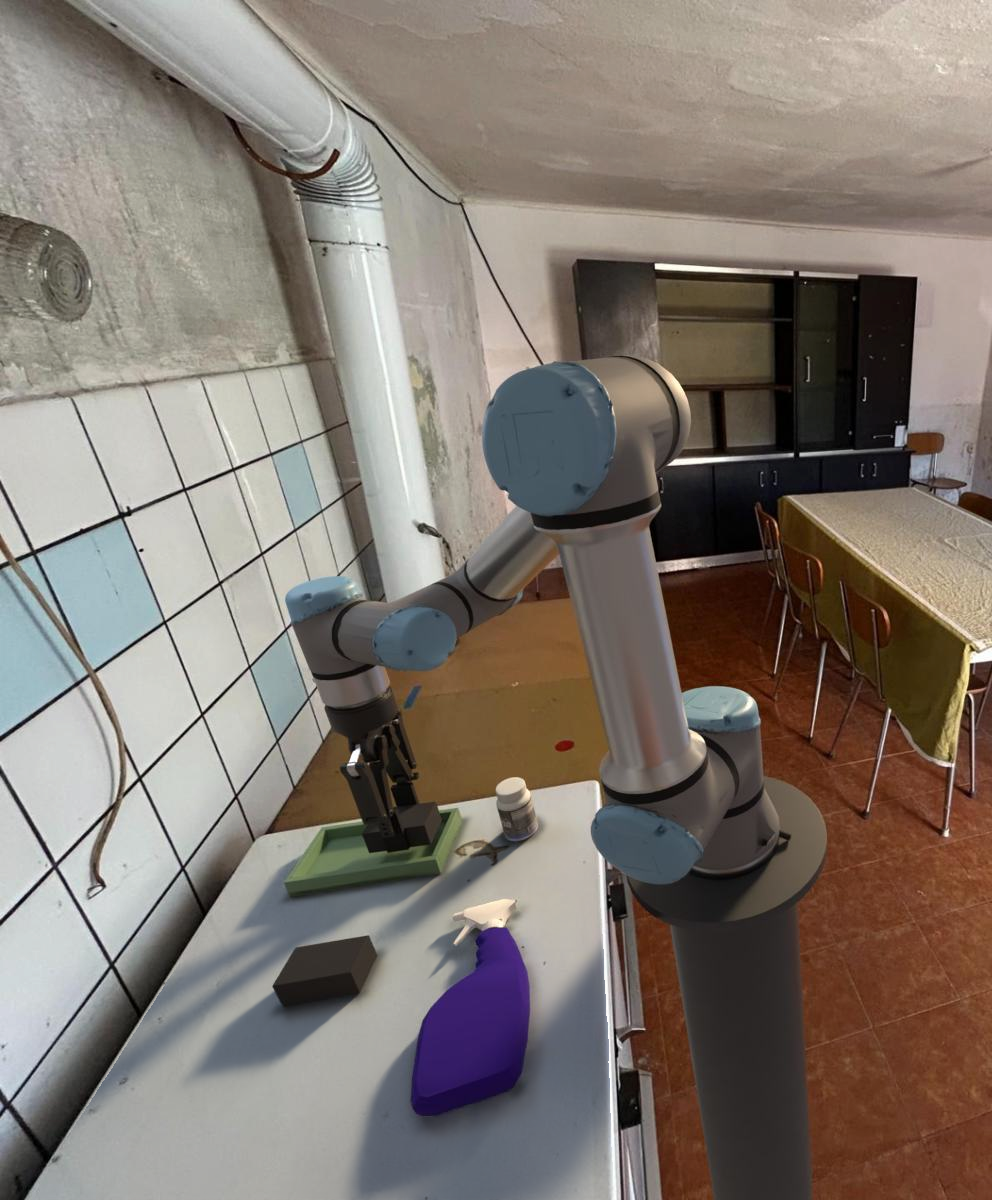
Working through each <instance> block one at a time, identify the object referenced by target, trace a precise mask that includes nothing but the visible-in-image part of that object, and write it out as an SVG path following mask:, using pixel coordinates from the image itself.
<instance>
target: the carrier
mask: <svg viewBox="0 0 992 1200" xmlns="http://www.w3.org/2000/svg"><path fill="white" fill-rule="evenodd" d="M439 813H440V816H441V819H442V821H441V823H440V825H439V827H438V830H437V832H436V834H435V836H434V838H433V841H432V843H431V845H424V846H417V847H410V848H409V850H403V851H397V852H390V853H387V851H382V852H375V853H369V851H368V849H367V846H366V843H365V841H364V838H363V836H362V833H363V831H364V830H365V828H366V826H367V825H368V824H367V825H364V824H363V822H362V821H358V822H357V821H355V822H349V823H341V824H334V825H327V826H322V827H321V828H320V829H319V830H318V832H317V834H316V835H315V836H314V838H313V839H312V841H311V842H310V843H309V845H308V847H307V848H306V849H305V851H304V852H303V854H302V855H301V856H300V858H299V859H298V861H297V862H296V864H295V865H294V867H293V868H292V870H291V871H290V872H289V874H288V875H287V877H286V878H285V880H284V881H283V885H284V887H285V889H286V891H287V893H288V895H289V897H290V898H293V897H299V896H305V895H312V894H318V893H319V894H320V893H324V892H331V891H338V890H344V889H350V888H357V887H361V886H362V887H363V886H370V885H375V884H376V885H377V884H382V883H388V882H394V881H401V880H407V879H408V880H409V879H415V878H420V877H421V878H422V877H427V876H433V875H439V874H441V873H442V871H443V869H444V867H445V864H446V862H447V859H448V856H449V854H450V852H451V850H452V847H453V845H454V842H455V840H456V838H457V835H458V833H459V831H460V828H461V826H462V823H463V818H462V814H461V811H460V808H459V807H453V808H446V809H439Z"/></svg>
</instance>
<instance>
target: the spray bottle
mask: <svg viewBox="0 0 992 1200" xmlns="http://www.w3.org/2000/svg"><path fill="white" fill-rule="evenodd" d="M517 909H518V906H517V902H516V900H515V899H507V898H502V899H499V900H494V901H491V902H486V903H483V904H479V905H474V906H471V907H468V908H465V909H464V910H462V911H459V912H454V913H453V915H452V920H453V922H455V923H456V922H459V921H465V925H464V927H463V928H462V930H461V931H460V933H459V934H458V936H457V937H456V939H455V941H454V942H453V946H454V947H457V946H458V945H459V944H460V943H461V942H462V941H463V940H464V939H465V938H466V937H467V936H468V935H469V934H470V933H471V931H473V929H475V928H476V929H478V930H479V931H480V932H479V934H477V936H476V938H475V939H474V944H475V946H476V947H477V950H476V951H475V958H476V962H475V963H474V966H475V969H474V971H472V972H471V973H469V974H467V975H466V976H464V977H463V978H461V979H460V980H459V981H457V982H456V983H455V984H453V985H452V986H450V987H449V988H447V989H446V990H445V991H444V992H443V994H442V995H441V996H440V997H439V998H438V999H437V1000H436V1001H435V1002H434V1003H433V1004H432V1006H430V1008H429V1009H428V1011H427V1013H426V1014H425V1016H424V1017H423V1019H422V1021H421V1025H420V1028H419V1032H418V1035H417V1042H416V1048H415V1054H414V1061H413V1065H412V1066H413V1067H412V1072H411V1073H412V1074H411V1083H410V1084H411V1085H410V1105H411V1107H412V1111H414V1113H415V1114H416V1115H418V1116H421V1117H428V1118H429V1117H438V1116H442V1115H444V1114H446V1113H450V1112H452V1111H456V1110H458V1109H461V1108H464V1107H467V1106H470V1105H473V1104H477V1103H478V1102H482V1101H484V1100H488V1099H490V1098H493V1097H496V1096H499V1095H502V1094H505V1093H508V1092H509V1091H510V1090H511V1089H513V1088H514V1087H515V1086H516V1084H517V1082H518V1081H519V1079H520V1077H521V1075H522V1073H523V1068H524V1062H525V1058H526V1057H525V1056H526V1052H527V1046H528V1040H529V1029H530V1016H531V991H530V988H531V987H530V979H529V972H528V970H527V967H526V965H525V962H524V959H523V957H522V955H521V951H520V949H519V947H518V945H517V943H516V940H515V939H514V937H513V935H512V934H511V932H510V930H509V929H508V927H505V926H506V923H507V920H508V919H509V918H510V917H511V915H512V913H514V912H515V911H516V910H517Z"/></svg>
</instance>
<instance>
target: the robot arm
mask: <svg viewBox="0 0 992 1200" xmlns="http://www.w3.org/2000/svg"><path fill="white" fill-rule="evenodd" d="M686 395H687V394H686V393H685V391H684V388H682V385H681V384H680V382H679V381H678V380H677V378H675V376H674V375H673V374H672V373H671V372H669V371H668V370H667V369H666V368H664V367H663V366H662V365H661V364H659V363H657V362H655V361H653V360H651V359H649V358H646V357H643V356H639V355H632V354H630V355H629V354H622V355H613V356H608V357H602V358H601V357H599V358H592V359H591V358H590V359H589V358H588V359H580V360H569V361H568V360H567V361H557V360H554V361H552V362H549V363H546V364H540V365H538V366H534V367H530V368H525V369H523V370H521V371H517V372H516V373H514V374H512V375H511V376H509V377H507V378H506V379H505V380H504V381H503V382H502V383H500V385H499V386H498V387H497V388H496V390H495V392H494V394H493V396H492V398H491V400H490V401H489V402H488V403H487V406H486V409H485V412H484V414H483V419H482V427H481V444H482V445H481V446H482V453H483V457H484V460H485V464H486V466H487V470H488V472H489V474H490V476H491V479H492V481H493V482H494V484H495V485H496V486H497V488H498V490H500V491H505V492H506V493H507V494H508V495H507V499H508V500H509V501H510V502H512V503H513V504H514V505H515V506H514V508H512V510H511V511H510V512H509V513H508V514H507V515H506V516H505V517H504V518H503V520H502V521H501V522H500V523H498V525H497V526H496V528H495V529H494V530H493V531H491V533H490V534H489V535H488V536H487V537H486V538H485V540H483V542H481V544H480V545H478V547H477V548H476V549H475V551H474V552H473V553H472V554H471V555H470V556H469V558H467V560H466V561H465V562H463V564H462V565H461V566H460V567H459V568H458V569H457V570H456V571H455V572H453V573H452V574H449V575H448V576H446V577H444V578H442V579H440V580H437V581H435V582H433V583H431V584H429V585H427V586H424V587H422V588H421V589H417V590H416V591H414V592H412V593H409V594H407V595H404V596H403V597H401V598H399V599H396V600H393V601H390V602H385V601H376V600H370V599H364V593H363V591H361V589H360V587H359V584H358V582H357V581H356V580H354V579H353V578H352V577H350V576H345V575H332V576H325V577H319V578H315V579H311V580H308V581H305V582H302V583H299V584H297V585H295V586H293V587H292V588H291V589H290V590H288V591H287V593H286V595H285V598H284V603H285V605H286V608H287V611H288V616H289V618H290V622H289V625H290V626H291V627H292V629H293V631H294V634H295V636H296V639H297V641H298V642H297V643H298V644H299V647H300V649H301V651H302V654H303V657H304V659H305V662H306V665H307V666H308V669H309V671H310V673H311V676H312V679H311V681H312V682H313V683H314V684H315V687H316V689H317V693H319V697H320V700H321V703H322V704H323V705H324V711H325V714H326V717H327V720H328V723H329V725H330V728H331V730H332V731H333V732H334V733H336V734H338V735H340V736H343V737H345V738H346V739H347V744H348V751H349V753H350V758H349V761H348V762H343V763H341V764H340V766H339V768H340V769H339V771H340V773H341V774H342V776H343V777H344V778H345V780H346V781H347V783H348V786H349V789H350V792H351V794H352V797H353V799H354V802H355V805H356V809H357V811H358V814H359V817H360V819H361V822H363V824H364V825H367V824H374V823H377V826H378V828H379V831H380V834H381V836H382V839H383V842H384V844H385V847H386V850H387V853H390V852H397V851H403V850H409V848H410V843H409V840H408V837H407V835H406V832H405V829H404V826H403V823H402V820H401V817H400V814H399V811H398V809H395V810H393V807H394V804H393V800H394V802H395V807H399V806H406V805H414V804H421V802H420V800H419V798H418V795H417V792H416V788H415V786H414V782H413V781H418V780H419V777H420V774H419V771H417V772H416V771H415V772H413V770H416V769H417V761H416V758H415V754H414V752H413V749H412V746H411V743H410V740H409V737H408V734H407V731H406V728H405V725H404V720H403V713H402V709H401V708H399V707H398V703H397V700H396V697H395V694H394V691H393V690H394V689H393V688H392V687H391V686H390V685H391V679H390V678H389V675H388V671H387V669H386V668H388V669H390V670H393V671H402V672H407V671H411V672H430V671H433V670H435V669H436V670H437V669H438V668H440V667H442V665H444V664H445V663H446V661H447V660H448V657H449V656H450V655H451V654H452V653H453V652H454V650H455V647H456V645H457V644H456V643H457V639H459V638H461V637H463V636H464V635H466V634H468V632H470V631H472V630H474V629H475V628H478V627H479V626H481V625H482V624H485V623H486V622H488V621H490V620H492V619H494V618H495V617H498V616H501V615H503V614H505V613H506V612H507V611H509V610H510V609H511V608H512V607H514V606H515V605H517V604H518V603H519V602H520V601H521V599H522V598H523V592H524V590H525V588H526V587H527V586H528V585H529V584H530V583H531V582H532V581H533V580H534V579H535V578H536V577H537V576H538V575H539V574H540V573H541V572H542V571H544V569H546V568H547V567H548V565H549V564H551V563H552V562H553V561H554V560H555V559H556V558H557V557H558V556H559V558H560V563H561V566H562V570H563V574H564V575H563V576H564V579H565V582H566V586H567V590H568V594H569V598H570V603H571V607H572V611H573V614H574V618H575V623H576V626H577V630H578V634H579V639H580V642H581V646H582V650H583V654H584V658H585V661H586V666H587V670H588V674H589V677H590V681H591V685H592V689H593V693H594V696H595V702H596V704H597V709H598V712H599V716H600V717H599V718H600V720H601V725H602V729H603V733H604V737H605V740H606V741H605V742H606V745H607V748H608V750H607V752H606V753H605V754H604V756H603V757H602V759H601V761H600V764H599V769H598V772H599V777H600V781H601V782H600V783H601V785H602V789H603V792H604V797H605V802H604V806H603V807H601V808H599V809H598V810H597V811H596V813H595V814H594V818H593V820H592V822H591V824H590V836H591V839H592V843H593V844H594V846H595V848H596V850H597V852H598V853H599V854H600V856H602V858H603V859H604V860H605V861H606V862H607V863H608V864H610V865H611V867H613V868H614V869H616V870H618V871H620V872H621V873H622V874H623V875H627V876H629V877H631V878H634V879H636V880H639V881H642V882H646V883H651V884H670V883H674V882H676V881H678V880H680V879H681V878H683V877H684V876H685V875H686V874H687V873H688V872H689V873H691V874H693V875H695V876H697V877H701V878H705V879H711V880H727V879H733V878H738V877H741V876H744V875H747V874H749V873H751V872H753V871H755V870H757V869H759V868H760V867H762V866H763V865H764V864H765V863H767V862H768V861H769V860H770V858H771V857H772V856H773V855H774V853H775V852H776V850H777V848H778V845H779V842H780V837H781V838H783V839H786V840H788V841H789V840H790V838H791V834H790V833H787V832H784V831H782V830H780V821H779V817H778V815H777V812H776V810H775V808H774V806H773V804H772V802H771V800H770V798H769V796H768V794H767V792H766V790H765V788H764V778H763V776H764V765H763V750H762V749H763V748H762V747H763V746H762V734H761V732H762V731H761V724H762V721H761V720H762V719H761V718H760V715H759V714H760V713H759V708H758V704H757V702H756V700H755V699H754V698H753V697H752V696H751V695H750V694H749V693H748V692H746V691H743V690H741V689H738V688H735V687H730V686H722V685H721V686H720V685H719V686H718V685H715V686H714V685H713V686H711V685H710V686H703V687H697V688H692V689H689V690H686V691H683V692H682V688H681V683H680V677H679V673H678V667H677V663H676V658H675V654H674V648H673V642H672V637H671V631H670V627H669V622H668V617H667V612H666V611H667V610H666V607H665V602H664V596H663V591H662V586H661V581H660V576H659V570H658V566H657V561H656V556H655V550H654V545H653V542H652V541H653V540H652V536H651V530H650V524H651V522H652V521H653V519H654V518H655V517H656V515H657V514H658V512H659V511H660V510H661V508H662V502H661V497H660V491H659V486H658V485H659V484H658V480H657V474H658V473H660V472H661V471H662V470H663V469H664V468H666V467H667V466H668V465H670V464H671V463H673V462H674V461H675V460H676V459H677V458H678V457H679V455H680V454H681V452H683V450H684V449H685V447H686V444H687V442H688V440H689V436H690V433H691V425H692V417H691V408H690V404H689V399H688V398H687V396H686ZM388 777H389V778H388ZM389 780H390V781H391V782H392V783H393V784H392V785H391V786H390V784H389ZM392 797H393V798H392ZM627 876H626V877H627Z"/></svg>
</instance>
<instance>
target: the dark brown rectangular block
mask: <svg viewBox="0 0 992 1200" xmlns="http://www.w3.org/2000/svg"><path fill="white" fill-rule="evenodd" d="M377 958H378V953H377V951H376V948H375V946H374V944H373V941H372V939H371V937H370V935H361V936H355V937H350V938H349V937H348V938H343V939H337V940H331V941H326V942H319V943H314V944H307V945H302V946H296V947H294V949H293V951H292V953H291V954H290V956H289V957H288V959H287V960H286V962H285V964H284V965H283V967H282V969H281V971H280V973H279V974H278V976H277V978H276V979H275V980H274V983H273V984H272V989H273V991H274V992H275V995H276V997H277V999H278V1000H279V1002H280V1004H281V1006H282V1008H287V1007H291V1006H297V1005H303V1004H308V1003H309V1004H310V1003H314V1002H319V1001H320V1002H321V1001H325V1000H332V999H336V998H342V997H348V996H353V995H359V994H361V992H362V990H363V988H364V986H365V983H366V981H367V979H368V977H369V974H370V972H371V970H372V968H373V966H374V964H375V962H376V959H377Z"/></svg>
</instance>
